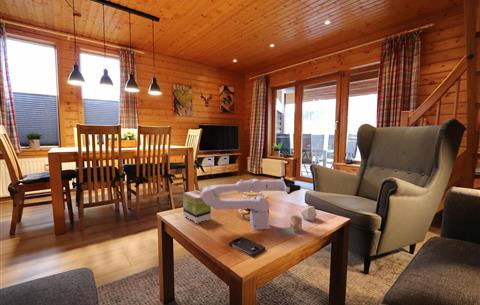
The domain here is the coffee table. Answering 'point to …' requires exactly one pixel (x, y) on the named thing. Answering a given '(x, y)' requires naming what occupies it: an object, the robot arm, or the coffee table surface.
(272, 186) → the robot arm
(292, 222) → the maple block
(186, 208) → the tea box
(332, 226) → the coffee table surface
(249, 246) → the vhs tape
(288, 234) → the slate mat
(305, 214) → the die
